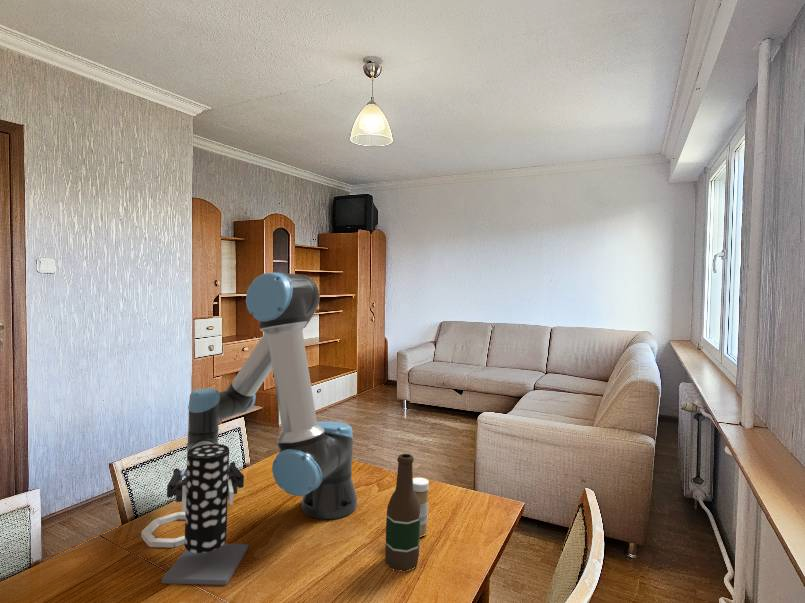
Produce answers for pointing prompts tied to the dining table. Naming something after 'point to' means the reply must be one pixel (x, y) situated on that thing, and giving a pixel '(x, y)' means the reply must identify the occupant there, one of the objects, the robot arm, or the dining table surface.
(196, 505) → the white-spotted black cylinder
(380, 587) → the dining table surface
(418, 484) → the sprinkles bottle
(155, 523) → the coaster ring
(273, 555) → the dining table surface
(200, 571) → the mat
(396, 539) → the beer bottle
